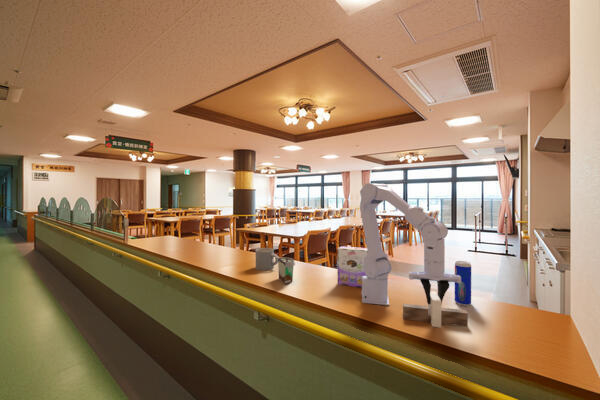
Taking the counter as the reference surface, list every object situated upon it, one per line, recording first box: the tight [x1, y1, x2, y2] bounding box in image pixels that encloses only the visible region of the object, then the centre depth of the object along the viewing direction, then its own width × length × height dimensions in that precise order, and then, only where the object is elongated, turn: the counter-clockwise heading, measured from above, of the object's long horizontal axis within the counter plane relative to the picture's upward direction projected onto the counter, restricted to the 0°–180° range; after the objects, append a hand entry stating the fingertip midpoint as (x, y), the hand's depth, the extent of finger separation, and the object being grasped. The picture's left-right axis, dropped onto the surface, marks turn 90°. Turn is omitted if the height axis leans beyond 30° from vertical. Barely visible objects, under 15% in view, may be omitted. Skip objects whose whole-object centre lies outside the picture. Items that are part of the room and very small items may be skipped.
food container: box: [277, 256, 296, 285], centre depth 123 cm, size 12×6×10 cm, turn 22°
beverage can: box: [454, 260, 472, 307], centre depth 96 cm, size 5×5×15 cm
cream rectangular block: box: [427, 290, 442, 328], centre depth 83 cm, size 8×2×8 cm, turn 164°
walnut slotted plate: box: [402, 303, 469, 327], centre depth 83 cm, size 18×2×4 cm, turn 74°
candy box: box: [336, 245, 368, 289], centre depth 117 cm, size 14×6×16 cm, turn 63°
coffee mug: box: [255, 247, 279, 271], centre depth 144 cm, size 13×10×10 cm
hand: (434, 303), depth 83 cm, fingers closed on cream rectangular block, 2 cm apart
